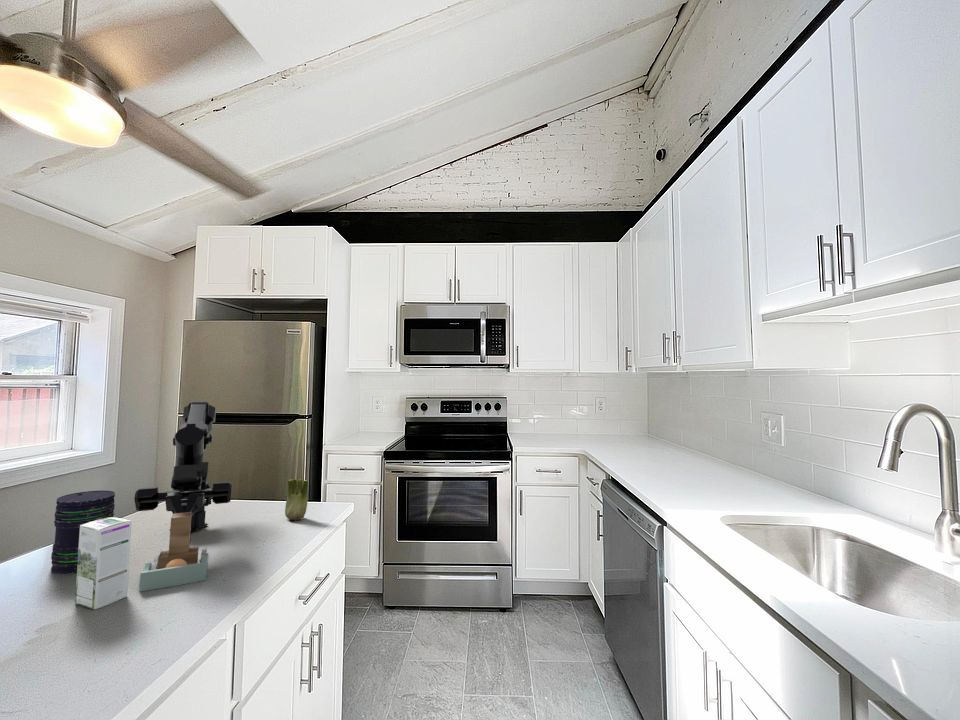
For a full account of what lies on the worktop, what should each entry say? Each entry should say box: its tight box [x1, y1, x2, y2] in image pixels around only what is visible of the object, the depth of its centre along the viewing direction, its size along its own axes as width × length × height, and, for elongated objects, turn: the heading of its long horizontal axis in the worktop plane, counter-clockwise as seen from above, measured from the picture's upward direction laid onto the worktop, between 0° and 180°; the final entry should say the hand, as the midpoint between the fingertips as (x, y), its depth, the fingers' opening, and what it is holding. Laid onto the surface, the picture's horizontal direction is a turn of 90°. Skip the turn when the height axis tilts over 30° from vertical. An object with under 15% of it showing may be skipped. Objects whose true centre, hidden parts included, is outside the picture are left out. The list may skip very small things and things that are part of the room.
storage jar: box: [50, 490, 116, 575], centre depth 96 cm, size 10×10×15 cm
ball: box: [165, 559, 187, 568], centre depth 90 cm, size 4×4×4 cm
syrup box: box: [74, 516, 133, 611], centre depth 81 cm, size 6×6×14 cm
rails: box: [151, 548, 208, 570], centre depth 98 cm, size 8×10×1 cm
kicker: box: [157, 512, 200, 569], centre depth 95 cm, size 4×7×11 cm, turn 120°
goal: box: [138, 554, 209, 593], centre depth 90 cm, size 6×11×4 cm, turn 120°
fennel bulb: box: [284, 478, 309, 521], centre depth 130 cm, size 6×5×12 cm
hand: (181, 529), depth 97 cm, fingers closed
